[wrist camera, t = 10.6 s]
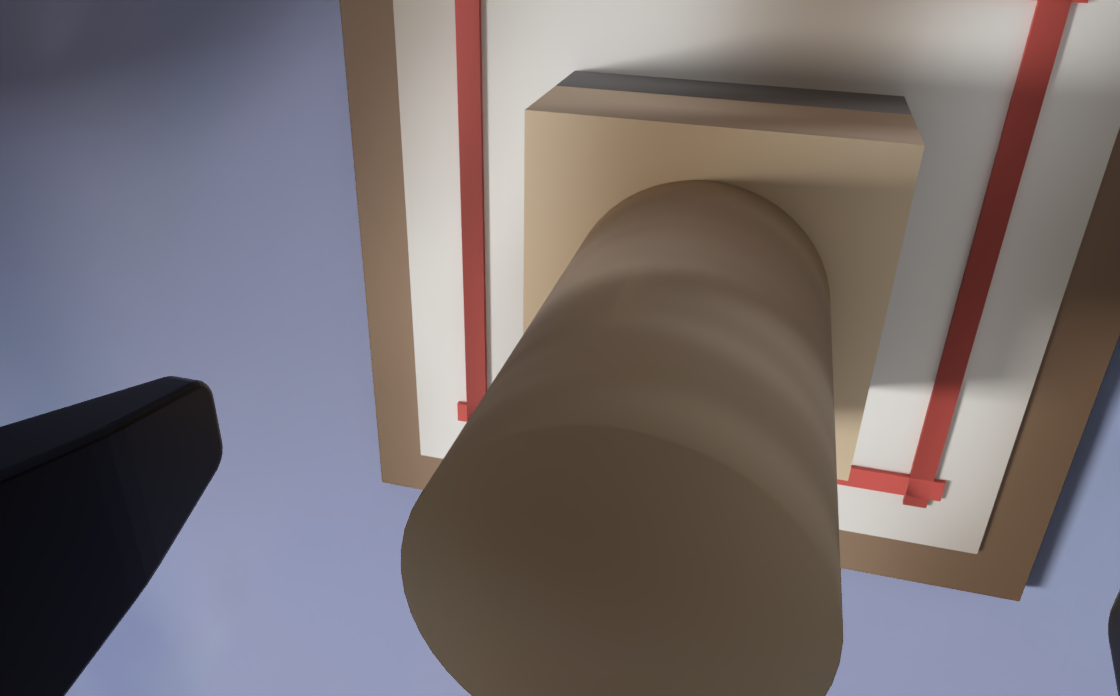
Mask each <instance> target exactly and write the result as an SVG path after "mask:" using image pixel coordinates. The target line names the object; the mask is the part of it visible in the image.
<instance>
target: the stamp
mask: <svg viewBox="0 0 1120 696" xmlns="http://www.w3.org/2000/svg"><path fill="white" fill-rule="evenodd" d="M924 147H925V144H924V142H923V140H922V137H921V135H920V132H919V130H918V128H917V125H916V123H915V121H914V118H913V116H912V114H911V111H910V109H909V107H908V104H907V102H906V99H905V97H904V96H893V95H880V94H868V93H855V92H842V91H829V90H816V89H803V88H790V87H778V86H765V85H752V84H739V83H726V82H713V81H700V80H688V79H675V78H662V77H649V76H636V75H623V74H610V73H598V72H585V71H574V72H572V73H571V74H570V75H569V76H567V77H566V78H565V79H563V80H562V81H561V82H560V83H558V84H557V85H556V86H555V87H553V88H552V89H551V90H549V91H548V92H547V93H546V94H544V95H543V96H542V97H540V98H539V99H538V100H537V101H535V102H534V103H533V104H532V105H530V106H529V107H528V108H526V109H525V147H524V289H523V336H522V337H521V339H520V341H519V342H518V344H517V345H516V347H515V348H514V350H513V351H512V353H511V355H510V356H509V358H508V359H507V361H506V362H505V364H504V365H503V367H502V368H501V370H500V372H499V373H498V375H497V376H496V378H495V379H494V381H493V382H492V384H491V386H490V387H489V389H488V390H487V392H486V393H485V395H484V396H483V398H482V400H481V401H480V403H479V404H478V406H477V407H476V409H475V410H474V412H473V414H472V415H471V417H470V418H469V420H468V421H467V423H466V424H465V426H464V428H463V429H462V431H461V432H460V434H459V435H458V437H457V438H456V440H455V441H454V443H453V445H452V446H451V448H450V449H449V451H448V452H447V454H446V455H445V457H444V459H443V460H442V462H441V463H440V465H439V466H438V468H437V469H436V471H435V473H434V474H433V476H432V477H431V479H430V480H429V482H428V483H427V485H426V487H425V488H424V490H423V491H422V493H421V495H420V496H419V498H418V500H417V502H416V503H415V505H414V507H413V508H412V510H411V513H410V516H409V519H408V522H407V524H406V527H405V530H404V536H403V542H402V548H401V574H402V580H403V586H404V592H405V596H406V599H407V602H408V605H409V608H410V612H411V614H412V616H413V618H414V621H415V623H416V625H417V627H418V629H419V631H420V633H421V635H422V637H423V638H424V640H425V641H426V643H427V645H428V646H429V648H430V650H431V651H432V653H433V654H434V655H435V657H436V658H437V659H438V660H439V662H440V663H441V664H442V665H443V667H444V668H445V669H446V671H447V672H448V673H449V674H450V675H451V676H452V677H453V678H454V679H455V680H456V681H457V682H458V683H459V684H460V685H461V686H462V687H463V688H464V689H465V690H466V691H467V692H468V693H470V694H471V695H472V696H825V695H826V693H827V692H828V690H829V688H830V687H831V685H832V683H833V680H834V677H835V675H836V672H837V669H838V666H839V663H840V658H841V651H842V645H843V619H842V593H841V567H840V541H839V516H838V490H837V479H839V480H845V481H848V479H849V474H850V470H851V465H852V461H853V457H854V452H855V448H856V444H857V439H858V435H859V431H860V426H861V422H862V417H863V413H864V409H865V404H866V400H867V396H868V391H869V387H870V383H871V378H872V374H873V369H874V365H875V361H876V356H877V352H878V348H879V343H880V339H881V335H882V330H883V326H884V321H885V317H886V313H887V308H888V304H889V300H890V295H891V291H892V287H893V282H894V278H895V273H896V269H897V265H898V260H899V256H900V252H901V247H902V243H903V239H904V234H905V230H906V225H907V221H908V217H909V212H910V208H911V204H912V199H913V195H914V191H915V186H916V182H917V177H918V173H919V169H920V164H921V160H922V156H923V151H924Z"/></svg>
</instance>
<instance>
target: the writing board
mask: <svg viewBox="0 0 1120 696" xmlns="http://www.w3.org/2000/svg"><path fill="white" fill-rule="evenodd" d="M340 10H341V21H342V33H343V44H344V55H345V66H346V78H347V89H348V100H349V112H350V123H351V134H352V145H353V157H354V168H355V179H356V190H357V202H358V213H359V224H360V236H361V247H362V258H363V269H364V281H365V292H366V303H367V315H368V326H369V337H370V348H371V360H372V371H373V382H374V393H375V405H376V416H377V427H378V439H379V450H380V461H381V472H382V482H385V483H390V484H395V485H401V486H406V487H411V488H417V489H422V490H424V488H425V487H426V485H427V483H428V482H429V480H430V479H431V477H432V476H433V474H434V473H435V471H436V469H437V468H438V466H439V465H440V463H441V462H442V460H443V459H444V457H445V455H446V454H447V452H448V451H449V449H450V448H451V446H452V445H453V443H454V441H455V440H456V438H457V437H458V435H459V434H460V432H461V431H462V429H463V428H464V426H465V424H466V423H467V421H468V420H469V418H470V417H471V415H472V414H473V412H474V410H475V409H476V407H477V406H478V404H479V403H480V401H481V400H482V398H483V396H484V395H485V393H486V392H487V390H488V389H489V387H490V386H491V384H492V382H493V381H494V379H495V378H496V376H497V375H498V373H499V372H500V370H501V368H502V367H503V365H504V364H505V362H506V361H507V359H508V358H509V356H510V355H511V353H512V351H513V350H514V348H515V347H516V345H517V344H518V342H519V341H520V339H521V337H522V336H523V289H524V147H525V109H526V108H528V107H529V106H530V105H532V104H533V103H534V102H535V101H537V100H538V99H539V98H540V97H542V96H543V95H544V94H546V93H547V92H548V91H549V90H551V89H552V88H553V87H555V86H556V85H557V84H558V83H560V82H561V81H562V80H563V79H565V78H566V77H567V76H569V75H570V74H571V73H572V72H574V71H585V72H598V73H610V74H623V75H636V76H649V77H662V78H675V79H688V80H700V81H713V82H726V83H739V84H752V85H765V86H778V87H790V88H803V89H816V90H829V91H842V92H855V93H868V94H880V95H893V96H904V97H905V99H906V102H907V104H908V107H909V109H910V111H911V114H912V116H913V118H914V121H915V123H916V125H917V128H918V130H919V132H920V135H921V137H922V140H923V142H924V144H925V147H924V151H923V156H922V160H921V164H920V169H919V173H918V177H917V182H916V186H915V191H914V195H913V199H912V204H911V208H910V212H909V217H908V221H907V225H906V230H905V234H904V239H903V243H902V247H901V252H900V256H899V260H898V265H897V269H896V273H895V278H894V282H893V287H892V291H891V295H890V300H889V304H888V308H887V313H886V317H885V321H884V326H883V330H882V335H881V339H880V343H879V348H878V352H877V356H876V361H875V365H874V369H873V374H872V378H871V383H870V387H869V391H868V396H867V400H866V404H865V409H864V413H863V417H862V422H861V426H860V431H859V435H858V439H857V444H856V448H855V452H854V457H853V461H852V465H851V470H850V474H849V479H848V481H845V480H839V479H837V490H838V516H839V541H840V567H841V568H844V569H849V570H855V571H860V572H865V573H871V574H876V575H881V576H887V577H892V578H897V579H903V580H908V581H913V582H919V583H924V584H929V585H935V586H940V587H945V588H951V589H956V590H962V591H967V592H972V593H978V594H983V595H988V596H994V597H999V598H1004V599H1010V600H1015V601H1020V598H1021V596H1022V593H1023V590H1024V588H1025V585H1026V582H1027V580H1028V577H1029V574H1030V572H1031V569H1032V566H1033V564H1034V561H1035V558H1036V556H1037V553H1038V551H1039V548H1040V545H1041V543H1042V540H1043V537H1044V535H1045V532H1046V529H1047V527H1048V524H1049V521H1050V519H1051V516H1052V513H1053V511H1054V508H1055V505H1056V503H1057V500H1058V497H1059V495H1060V492H1061V489H1062V487H1063V484H1064V481H1065V479H1066V476H1067V474H1068V471H1069V468H1070V466H1071V463H1072V460H1073V458H1074V455H1075V452H1076V450H1077V447H1078V444H1079V442H1080V439H1081V436H1082V434H1083V431H1084V428H1085V426H1086V423H1087V420H1088V418H1089V415H1090V412H1091V410H1092V407H1093V404H1094V402H1095V399H1096V396H1097V394H1098V391H1099V389H1100V386H1101V383H1102V381H1103V378H1104V375H1105V373H1106V370H1107V367H1108V365H1109V362H1110V359H1111V357H1112V354H1113V351H1114V349H1115V346H1116V343H1117V341H1118V338H1119V335H1120V0H340Z"/></svg>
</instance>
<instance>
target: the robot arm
mask: <svg viewBox="0 0 1120 696" xmlns="http://www.w3.org/2000/svg"><path fill="white" fill-rule="evenodd" d="M221 457H222V440H221V434H220V429H219V424H218V419H217V414H216V409H215V404H214V399H213V394H212V391H211V390H210V388H209V386H208V385H207V384H205V383H204V382H202V381H199V380H193V379H187V378H181V377H175V376H168V377H163V378H160V379H157V380H153V381H150V382H147V383H143V384H140V385H137V386H134V387H130V388H127V389H124V390H120V391H117V392H114V393H110V394H107V395H104V396H101V397H97V398H94V399H91V400H87V401H84V402H81V403H78V404H74V405H71V406H68V407H64V408H61V409H58V410H55V411H51V412H48V413H45V414H41V415H38V416H35V417H32V418H28V419H25V420H22V421H18V422H15V423H12V424H9V425H5V426H2V427H0V696H65V694H66V693H67V692H68V690H69V689H70V688H71V686H72V685H73V684H74V682H75V681H76V680H77V678H78V677H79V676H80V674H81V673H82V672H83V670H84V669H85V668H86V666H87V665H88V664H89V662H90V661H91V660H92V658H93V657H94V656H95V654H96V653H97V652H98V650H99V649H100V648H101V646H102V645H103V644H104V642H105V641H106V640H107V638H108V637H109V636H110V634H111V633H112V632H113V630H114V629H115V628H116V626H117V625H118V624H119V622H120V621H121V620H122V618H123V617H124V616H125V614H126V613H127V612H128V610H129V609H130V608H131V606H132V605H133V604H134V602H135V601H136V599H137V598H138V597H139V595H140V594H141V592H142V591H143V590H144V588H145V587H146V585H147V584H148V582H149V581H150V579H151V578H152V576H153V574H154V573H155V571H156V570H157V568H158V567H159V565H160V564H161V562H162V560H163V559H164V557H165V555H166V554H167V552H168V550H169V549H170V547H171V545H172V544H173V542H174V540H175V539H176V537H177V535H178V534H179V532H180V530H181V529H182V527H183V525H184V524H185V522H186V520H187V519H188V517H189V516H190V514H191V512H192V511H193V509H194V507H195V506H196V504H197V502H198V501H199V499H200V497H201V496H202V494H203V492H204V491H205V489H206V487H207V486H208V484H209V482H210V481H211V479H212V477H213V476H214V474H215V472H216V471H217V469H218V467H219V464H220V461H221ZM1108 636H1109V643H1110V649H1111V655H1112V661H1113V666H1114V672H1115V678H1116V684H1117V690H1118V695H1119V696H1120V591H1119V593H1118V595H1117V597H1116V599H1115V602H1114V604H1113V606H1112V609H1111V612H1110V616H1109V623H1108Z"/></svg>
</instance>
